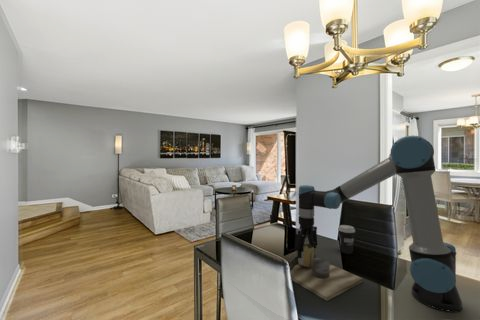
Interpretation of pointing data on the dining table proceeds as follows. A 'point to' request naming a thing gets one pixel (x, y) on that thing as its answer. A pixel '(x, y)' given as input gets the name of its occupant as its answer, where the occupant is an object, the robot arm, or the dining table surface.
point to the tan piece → (308, 254)
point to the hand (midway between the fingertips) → (306, 262)
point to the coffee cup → (346, 238)
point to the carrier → (322, 277)
